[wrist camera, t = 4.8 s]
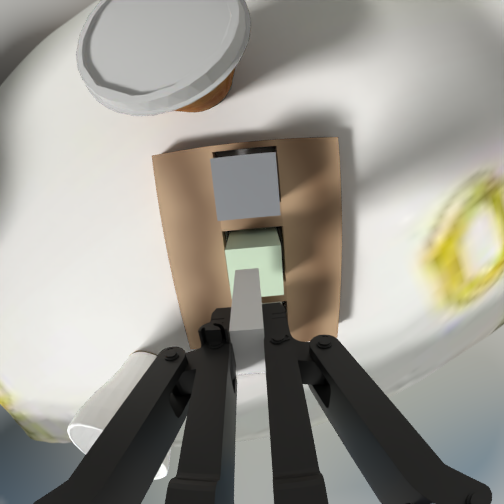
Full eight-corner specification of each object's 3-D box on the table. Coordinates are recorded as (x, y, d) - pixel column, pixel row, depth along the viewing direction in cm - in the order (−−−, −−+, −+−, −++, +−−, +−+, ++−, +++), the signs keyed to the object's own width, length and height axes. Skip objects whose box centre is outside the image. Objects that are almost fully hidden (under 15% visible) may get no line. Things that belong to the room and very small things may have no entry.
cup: (97, 353, 31) (52, 429, 18) (148, 322, 29) (100, 416, 16) (151, 403, 34) (126, 480, 21) (207, 382, 32) (191, 476, 19)
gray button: (225, 206, 22) (217, 221, 18) (219, 157, 21) (210, 158, 16) (274, 201, 22) (280, 215, 18) (270, 152, 21) (275, 151, 16)
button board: (194, 337, 29) (190, 349, 27) (159, 155, 23) (151, 155, 21) (332, 326, 29) (337, 337, 27) (331, 138, 22) (337, 137, 20)
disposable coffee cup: (127, 76, 20) (49, 40, 9) (213, 17, 18) (186, -60, 7) (181, 151, 23) (119, 154, 11) (273, 90, 21) (292, 36, 10)
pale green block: (235, 272, 26) (231, 299, 21) (230, 231, 25) (224, 250, 20) (278, 268, 26) (283, 294, 21) (275, 226, 25) (281, 245, 20)
